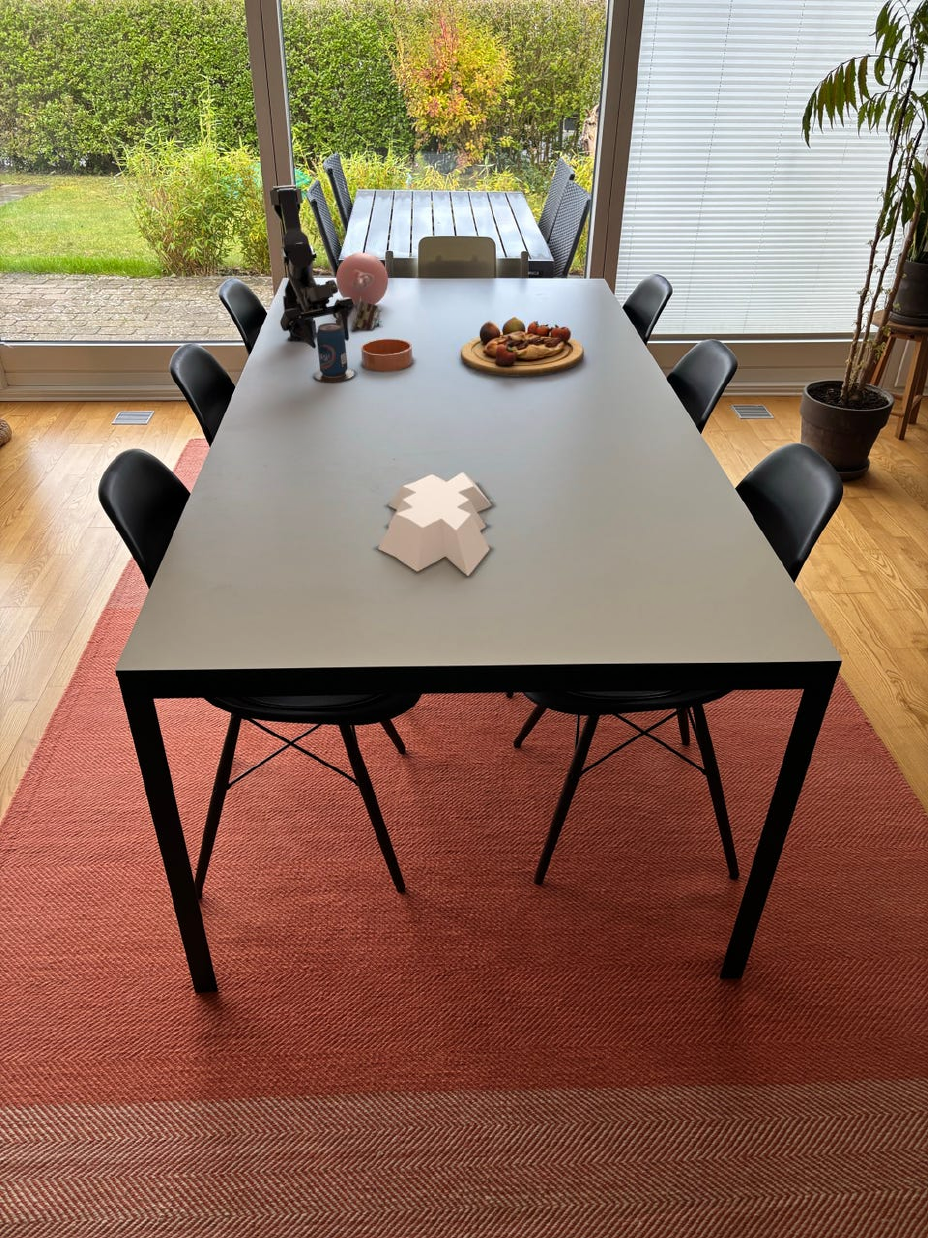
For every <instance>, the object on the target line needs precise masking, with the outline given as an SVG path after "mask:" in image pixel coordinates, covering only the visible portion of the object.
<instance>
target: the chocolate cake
mask: <svg viewBox="0 0 928 1238" xmlns="http://www.w3.org/2000/svg"><path fill="white" fill-rule="evenodd" d="M381 315H382V310H381V309H380V306H379V305H376V304H374V305H373V304H369V303H366V302H363V300H362V299H361V297H360V301H359V304H358V306H357V309H356V311H355V317H354V320H353V324H352V329H351V331H354V330H356V329H357V328H359V329H365V330H370V331H371V330H372V329H373V328H374V327H379V326H380V323H379V322H380V320H381Z"/></svg>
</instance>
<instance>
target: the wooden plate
mask: <svg viewBox="0 0 928 1238" xmlns="http://www.w3.org/2000/svg"><path fill="white" fill-rule="evenodd" d="M571 335H572V332H571V330H570V328H568V327H567V326H562V327H559V326H558V324H554V327H553V326H551V327H549V323H547V324H540V325H539V321H538V320H536V321H533V322H530V323H529V324H528V326H527V329H526V325H525V324H524V322H523V321H522V320H520V319H519V318H517V317H516V316H513V317H511V318H510V319H508V320H507V321H505V323H504V324H503V326H502V328H501V330H500V328H499V327H498V325H496V324H495V322H493V321H491V320H489V321H487V322H485V323H483V325H482V326H481V327H480V329H479V336H478V337H476V338H475V337H474V338H473V339H471V340H469V341H468V342H466V343H465V344H464V345H463V346H462V347H461V350H460V358H461V361H462V362H463V363H464V364H465V365H467V366H468V367H470V368H471V369H474V370H476V371H479V372H482V373H486V374H490V375H498V376H506V377H535V376H545V375H550V374H554V373H559V372H562V371H565V370H568V369H570V368H573V367H574V366H576V365H578V364H579V363H580V362H581V361H582V360H583V358H584V355H585V350H584V347H583V345H582V344H581V343H580V342H579V341H578V340H576V339H574V338H573V337H571Z"/></svg>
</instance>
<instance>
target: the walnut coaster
mask: <svg viewBox="0 0 928 1238" xmlns="http://www.w3.org/2000/svg"><path fill="white" fill-rule="evenodd" d="M354 377H355V371H354V370H352V369H350V368H348V369H347V371H346V373H345V375H344V376H341V377H337V378H328V377H325V376H324V375H323V374H322V373H321V371H320V370H318V371H316V372H315V373H314V380H316V381H317V382H321V383H326V384H327V383H328V384H334V383H336V384H337V383H343V382H347V381H349V380H351V379H353V378H354Z"/></svg>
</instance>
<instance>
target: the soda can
mask: <svg viewBox="0 0 928 1238" xmlns="http://www.w3.org/2000/svg"><path fill="white" fill-rule="evenodd" d="M316 332H317V334H316V336H315V337H316V347H317V355H318V364H319V371H321V373H322V374H323V375H324V376H325V377H328V378H337V377H341V376H344V375H345V373H346V371H347V369H349V365H348V355H347V346H346V345H347V344H346V340H345V333H344V331H343V329H342V328H341V325H340V324H337V323H336V322H327V323H322V324H320V325H318V326H317V330H316Z"/></svg>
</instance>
